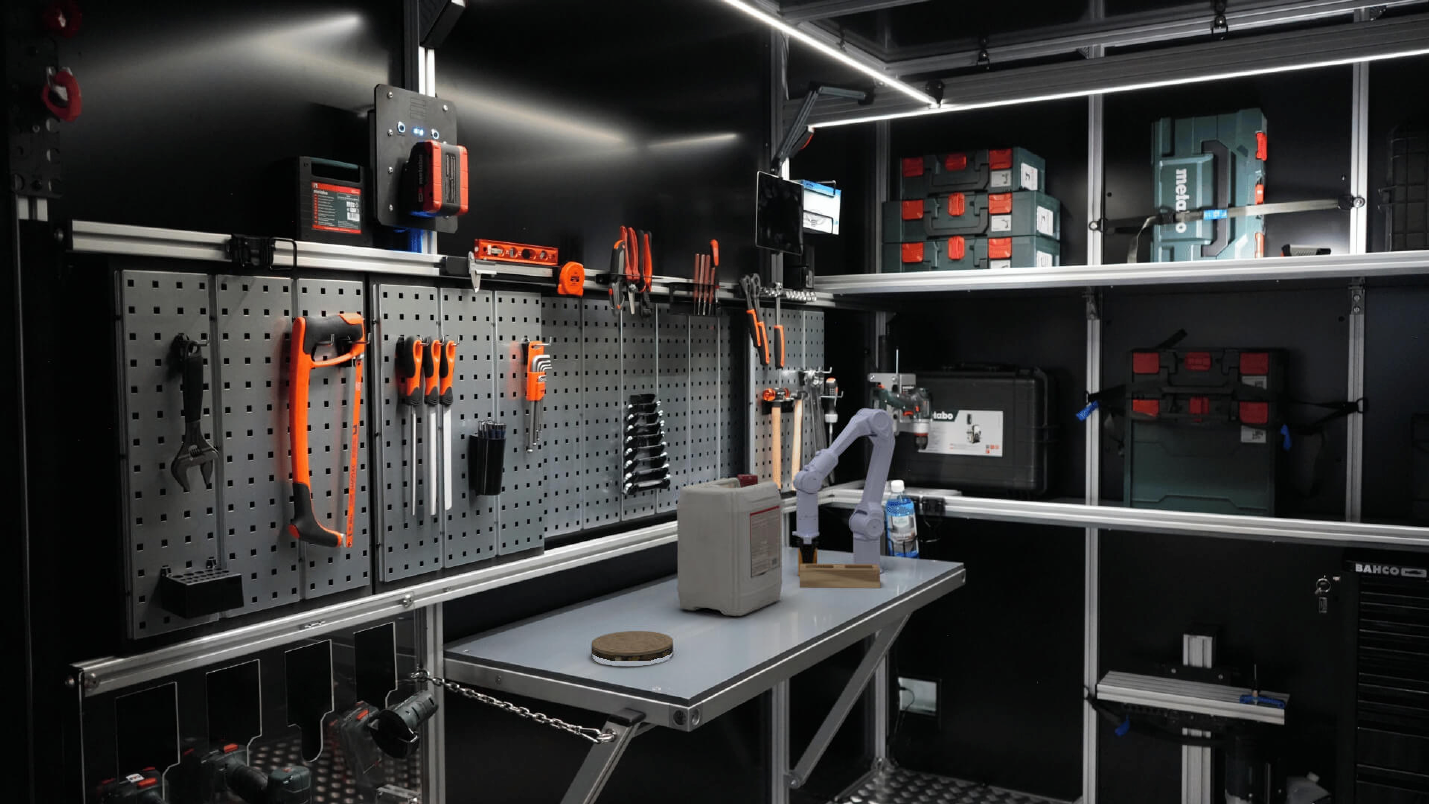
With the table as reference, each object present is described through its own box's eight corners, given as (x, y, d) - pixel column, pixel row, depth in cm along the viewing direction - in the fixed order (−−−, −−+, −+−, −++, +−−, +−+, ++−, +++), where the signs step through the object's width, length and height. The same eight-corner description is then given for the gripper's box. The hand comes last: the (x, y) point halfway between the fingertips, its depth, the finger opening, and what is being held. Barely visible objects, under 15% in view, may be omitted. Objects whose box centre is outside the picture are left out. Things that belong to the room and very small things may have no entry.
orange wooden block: (798, 574, 272) (798, 548, 271) (817, 574, 271) (817, 548, 271) (798, 576, 269) (798, 550, 269) (817, 576, 269) (817, 550, 269)
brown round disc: (690, 655, 197) (690, 639, 197) (631, 674, 185) (630, 657, 185) (634, 641, 208) (633, 626, 208) (574, 658, 196) (574, 643, 196)
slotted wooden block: (800, 580, 263) (800, 563, 263) (877, 581, 262) (877, 563, 261) (800, 587, 255) (799, 569, 255) (880, 587, 254) (879, 570, 254)
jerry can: (722, 591, 252) (720, 471, 251) (789, 599, 242) (788, 474, 242) (669, 611, 232) (667, 481, 231) (740, 621, 222) (738, 485, 221)
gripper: (792, 511, 277) (793, 561, 278) (791, 519, 263) (792, 571, 263) (818, 511, 277) (819, 561, 277) (819, 519, 262) (819, 571, 263)
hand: (807, 566), depth 270 cm, fingers closed on orange wooden block, 2 cm apart
